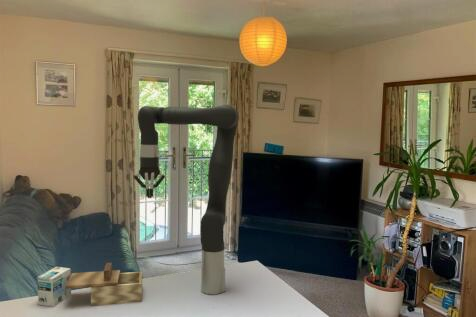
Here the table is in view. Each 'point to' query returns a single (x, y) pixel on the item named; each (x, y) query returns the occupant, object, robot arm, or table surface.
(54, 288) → the light bulb box
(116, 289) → the wooden box
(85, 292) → the table surface
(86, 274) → the lid
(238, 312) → the table surface
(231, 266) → the table surface
